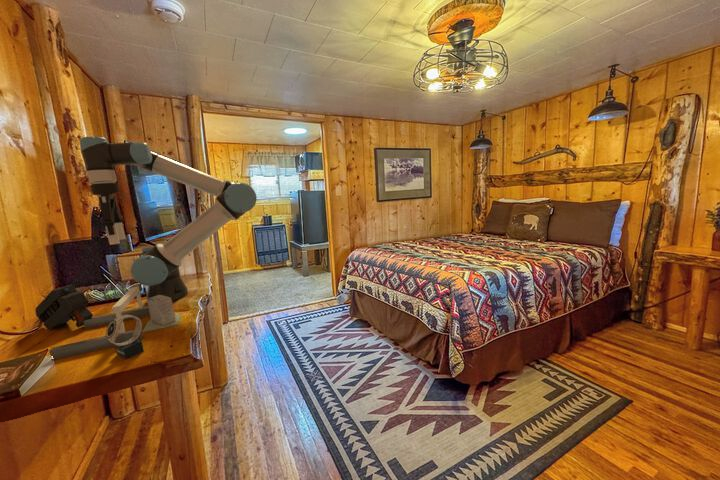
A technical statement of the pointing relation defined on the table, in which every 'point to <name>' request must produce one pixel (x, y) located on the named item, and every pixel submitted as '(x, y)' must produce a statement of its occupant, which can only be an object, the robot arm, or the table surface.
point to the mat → (155, 326)
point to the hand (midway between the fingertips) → (118, 241)
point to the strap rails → (100, 341)
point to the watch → (127, 346)
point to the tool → (63, 307)
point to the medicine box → (161, 309)
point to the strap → (127, 302)
